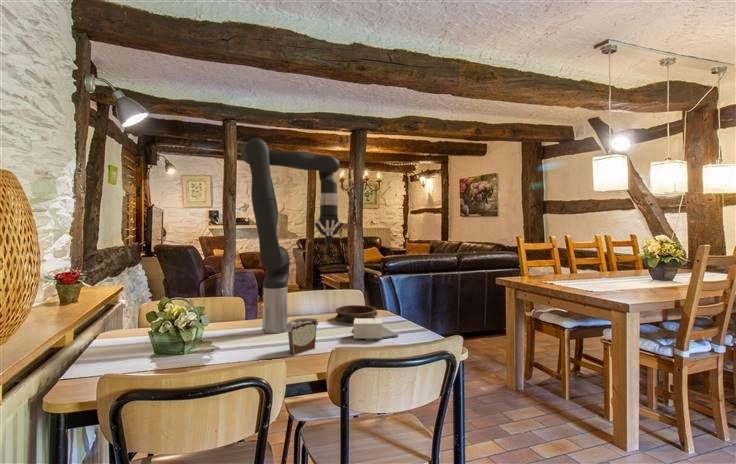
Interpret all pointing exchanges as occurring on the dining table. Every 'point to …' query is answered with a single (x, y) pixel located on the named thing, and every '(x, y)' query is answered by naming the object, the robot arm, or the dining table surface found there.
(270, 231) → the robot arm
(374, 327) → the small box
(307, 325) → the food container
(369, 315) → the dish
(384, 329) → the slate board
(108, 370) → the dining table surface
